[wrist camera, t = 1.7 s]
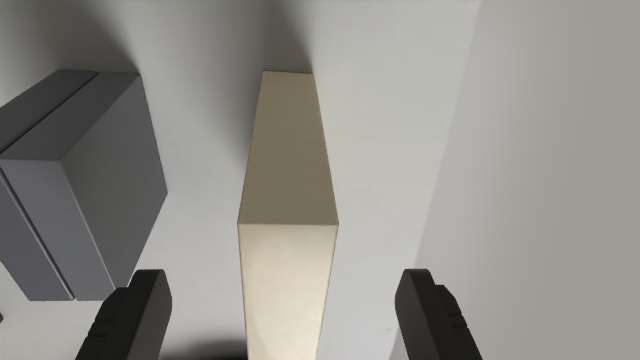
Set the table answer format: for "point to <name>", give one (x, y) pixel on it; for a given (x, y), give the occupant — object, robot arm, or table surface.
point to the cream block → (286, 221)
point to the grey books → (77, 184)
